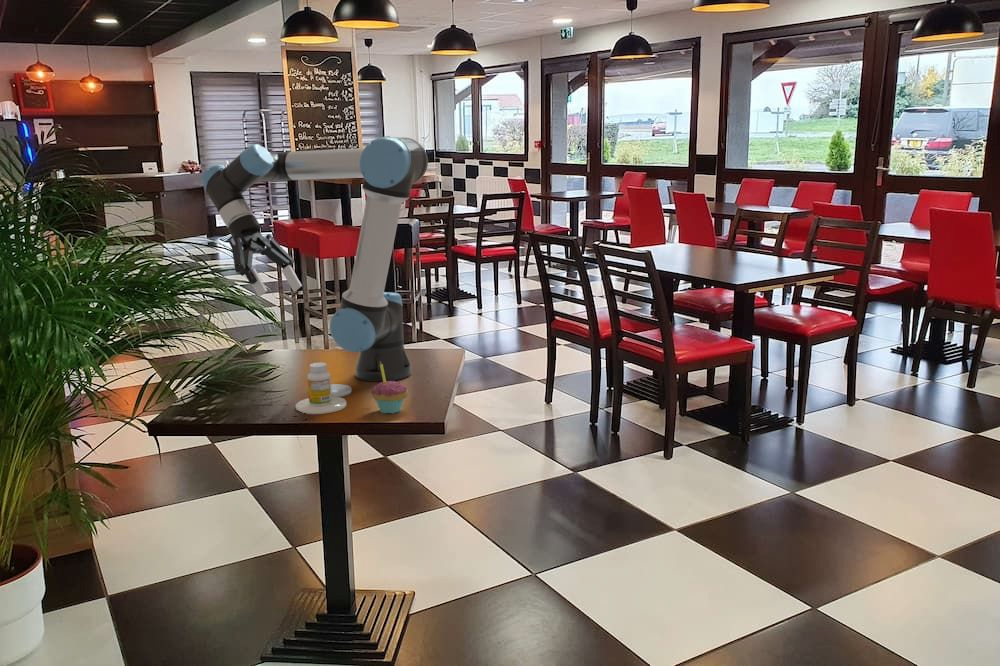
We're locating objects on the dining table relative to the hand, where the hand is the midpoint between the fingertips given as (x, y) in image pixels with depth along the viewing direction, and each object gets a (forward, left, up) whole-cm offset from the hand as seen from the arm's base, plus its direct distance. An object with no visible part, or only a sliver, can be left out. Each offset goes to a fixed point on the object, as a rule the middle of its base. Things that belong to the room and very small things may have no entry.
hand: (281, 291), depth 207 cm
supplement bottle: (-2, +20, -25) cm, 32 cm away
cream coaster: (-2, +20, -26) cm, 33 cm away
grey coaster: (-8, +10, -26) cm, 29 cm away
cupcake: (-15, +32, -26) cm, 44 cm away
